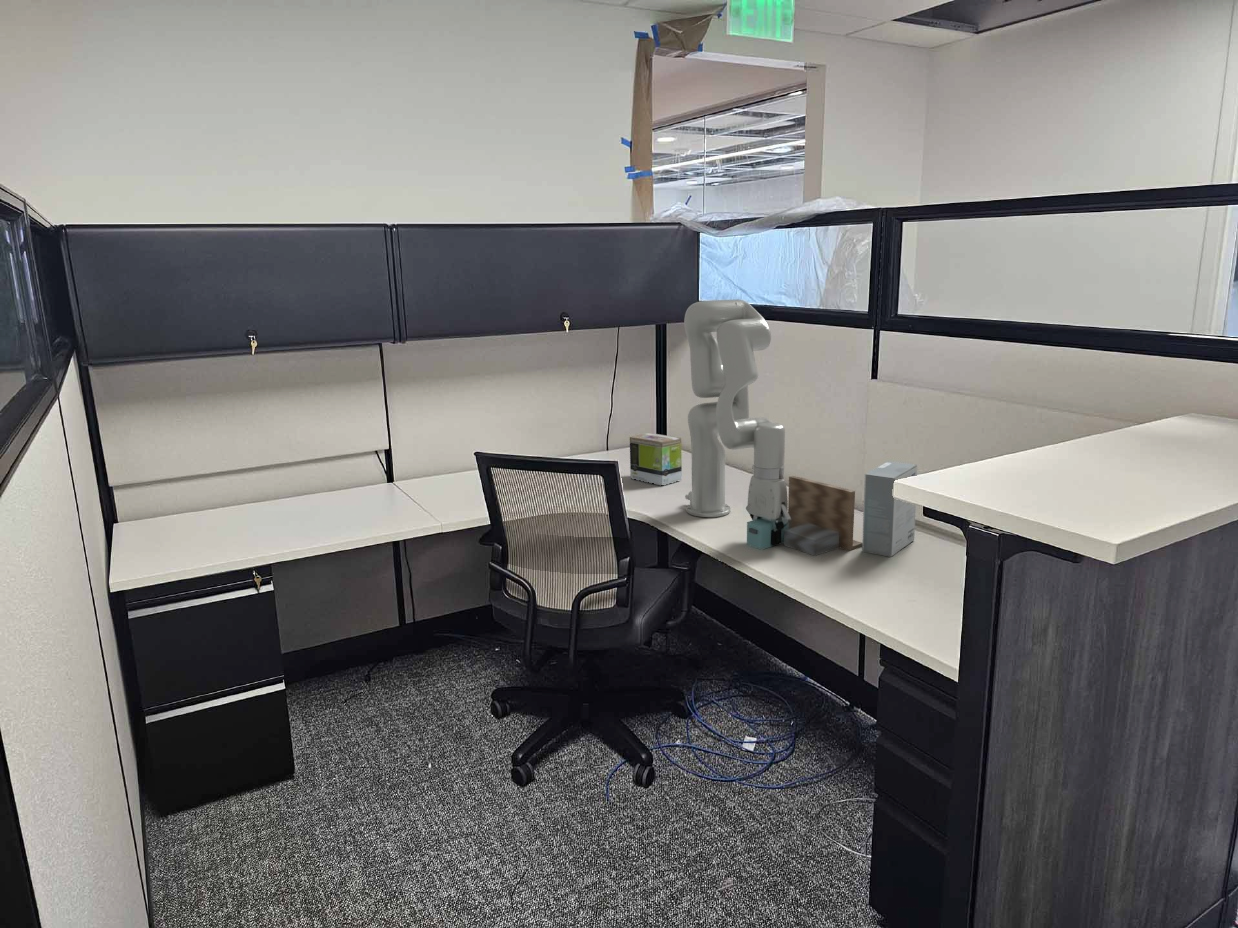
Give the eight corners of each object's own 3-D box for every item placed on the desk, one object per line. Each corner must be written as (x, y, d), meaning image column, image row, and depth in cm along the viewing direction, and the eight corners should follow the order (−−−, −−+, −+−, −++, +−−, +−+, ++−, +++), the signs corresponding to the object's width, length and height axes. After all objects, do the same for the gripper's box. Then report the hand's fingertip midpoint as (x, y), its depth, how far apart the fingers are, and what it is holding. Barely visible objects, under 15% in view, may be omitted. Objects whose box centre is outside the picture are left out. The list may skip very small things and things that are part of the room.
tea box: (682, 481, 271) (682, 437, 268) (661, 487, 265) (661, 442, 261) (650, 473, 282) (649, 431, 279) (629, 479, 275) (628, 436, 272)
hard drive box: (885, 535, 213) (889, 460, 208) (914, 540, 208) (919, 464, 204) (860, 551, 201) (864, 473, 197) (891, 557, 197) (895, 477, 192)
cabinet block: (745, 545, 208) (745, 522, 207) (774, 536, 214) (774, 514, 213) (759, 550, 204) (759, 527, 203) (788, 541, 210) (789, 518, 209)
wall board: (763, 538, 213) (764, 482, 209) (801, 527, 221) (803, 473, 218) (824, 558, 197) (826, 498, 194) (862, 545, 205) (865, 488, 202)
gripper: (734, 468, 210) (733, 536, 214) (783, 481, 196) (782, 553, 200) (754, 464, 214) (754, 530, 218) (805, 476, 201) (803, 546, 205)
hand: (767, 540), depth 209 cm, fingers closed on cabinet block, 5 cm apart
